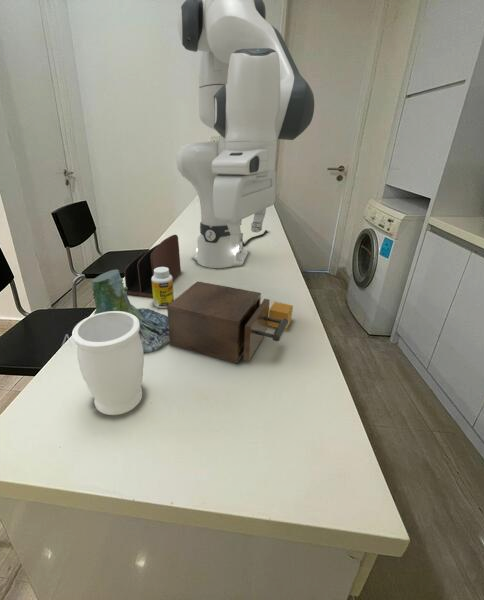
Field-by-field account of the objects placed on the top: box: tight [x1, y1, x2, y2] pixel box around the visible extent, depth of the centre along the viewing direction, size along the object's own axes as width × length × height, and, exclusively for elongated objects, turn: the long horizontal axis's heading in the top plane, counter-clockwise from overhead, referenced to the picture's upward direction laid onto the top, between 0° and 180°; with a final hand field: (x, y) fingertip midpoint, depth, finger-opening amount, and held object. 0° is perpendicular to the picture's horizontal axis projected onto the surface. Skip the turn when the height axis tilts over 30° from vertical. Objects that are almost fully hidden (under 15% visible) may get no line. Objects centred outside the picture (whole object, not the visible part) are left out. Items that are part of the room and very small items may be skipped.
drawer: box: [239, 298, 288, 362], centre depth 71 cm, size 20×13×8 cm, turn 62°
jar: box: [71, 311, 145, 416], centre depth 55 cm, size 11×10×15 cm
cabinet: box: [166, 280, 262, 364], centre depth 73 cm, size 16×14×10 cm
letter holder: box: [124, 234, 182, 298], centre depth 100 cm, size 10×20×14 cm, turn 162°
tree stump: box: [91, 268, 170, 354], centre depth 75 cm, size 18×20×18 cm
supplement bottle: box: [151, 267, 175, 309], centre depth 88 cm, size 6×6×10 cm
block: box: [268, 301, 294, 331], centre depth 78 cm, size 4×4×4 cm
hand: (247, 237), depth 64 cm, fingers open, 8 cm apart
